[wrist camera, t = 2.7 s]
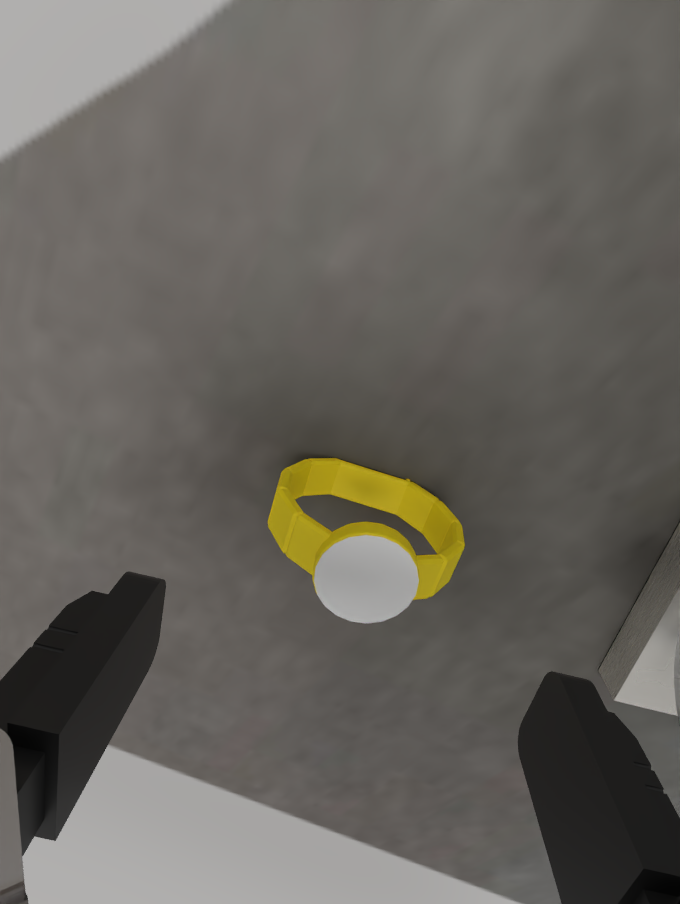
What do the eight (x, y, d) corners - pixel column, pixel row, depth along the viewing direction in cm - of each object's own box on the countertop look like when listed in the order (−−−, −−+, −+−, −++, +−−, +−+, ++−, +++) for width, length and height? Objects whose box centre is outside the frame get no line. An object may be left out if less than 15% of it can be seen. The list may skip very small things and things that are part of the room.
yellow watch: (454, 471, 18) (502, 568, 13) (427, 535, 19) (461, 650, 14) (293, 426, 18) (272, 507, 12) (274, 494, 19) (246, 597, 13)
